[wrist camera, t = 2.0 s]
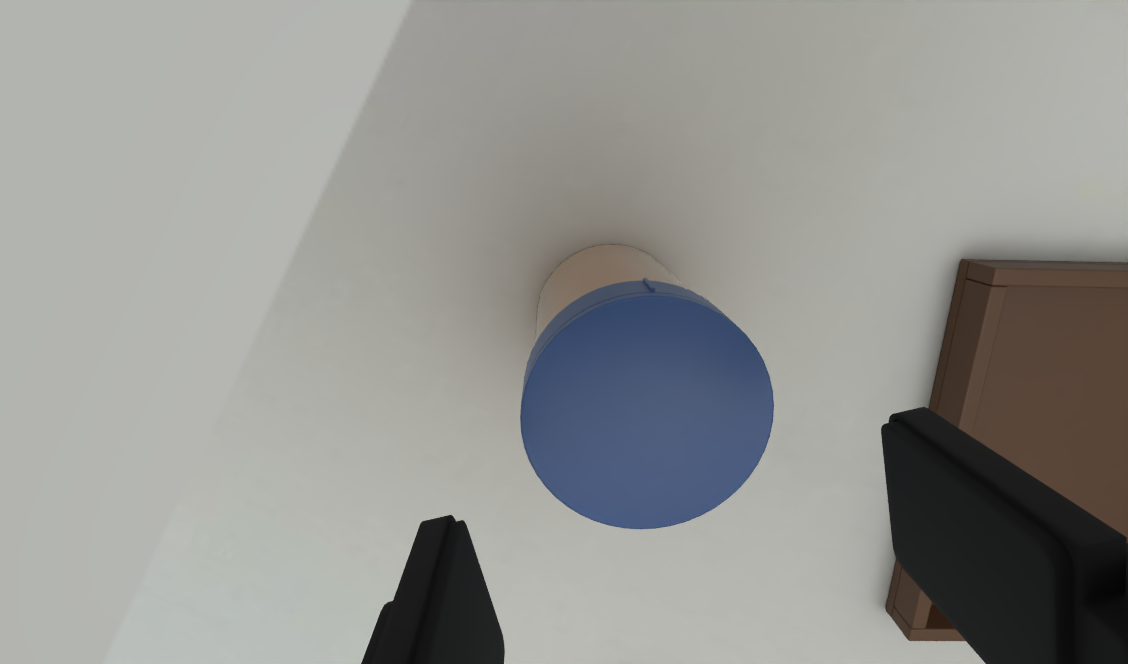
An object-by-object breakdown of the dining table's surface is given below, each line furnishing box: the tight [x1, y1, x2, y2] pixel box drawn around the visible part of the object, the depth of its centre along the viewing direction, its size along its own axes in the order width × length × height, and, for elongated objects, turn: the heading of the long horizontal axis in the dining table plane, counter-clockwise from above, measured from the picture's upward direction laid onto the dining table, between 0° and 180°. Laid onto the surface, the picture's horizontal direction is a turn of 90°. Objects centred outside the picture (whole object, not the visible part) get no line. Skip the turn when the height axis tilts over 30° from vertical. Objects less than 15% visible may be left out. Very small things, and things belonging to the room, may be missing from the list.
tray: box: [886, 259, 1128, 641], centre depth 26 cm, size 17×13×2 cm
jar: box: [535, 244, 686, 343], centre depth 20 cm, size 6×6×10 cm
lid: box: [520, 278, 774, 529], centre depth 16 cm, size 6×6×2 cm
